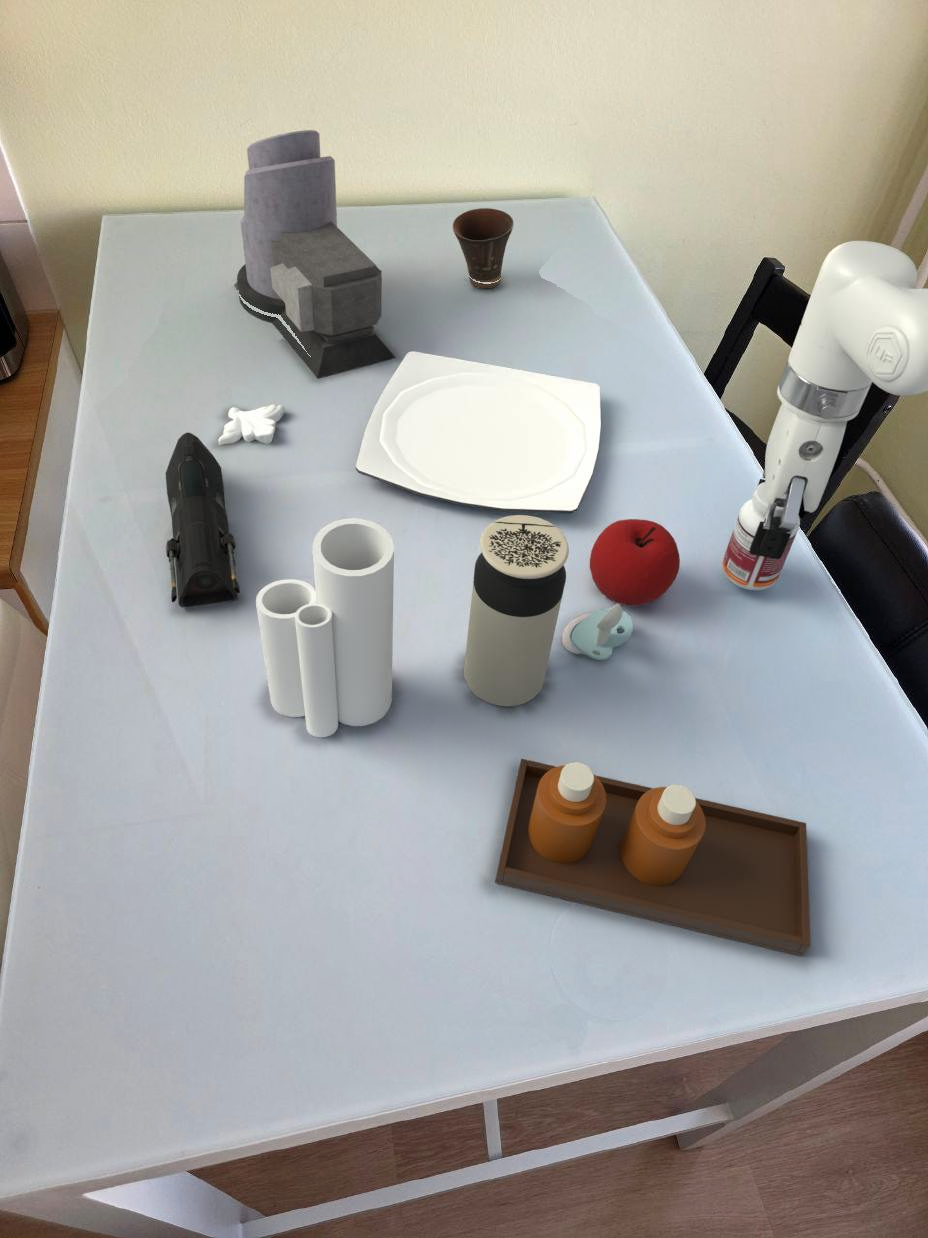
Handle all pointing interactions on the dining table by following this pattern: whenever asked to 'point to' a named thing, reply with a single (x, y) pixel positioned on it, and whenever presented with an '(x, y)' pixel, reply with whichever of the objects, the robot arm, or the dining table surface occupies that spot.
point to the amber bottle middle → (662, 834)
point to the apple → (634, 561)
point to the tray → (707, 889)
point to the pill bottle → (737, 557)
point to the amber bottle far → (566, 812)
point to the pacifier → (597, 632)
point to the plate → (484, 435)
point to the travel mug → (514, 608)
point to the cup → (483, 243)
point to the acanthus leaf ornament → (252, 424)
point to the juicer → (307, 258)
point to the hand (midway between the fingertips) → (764, 531)
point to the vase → (333, 631)
